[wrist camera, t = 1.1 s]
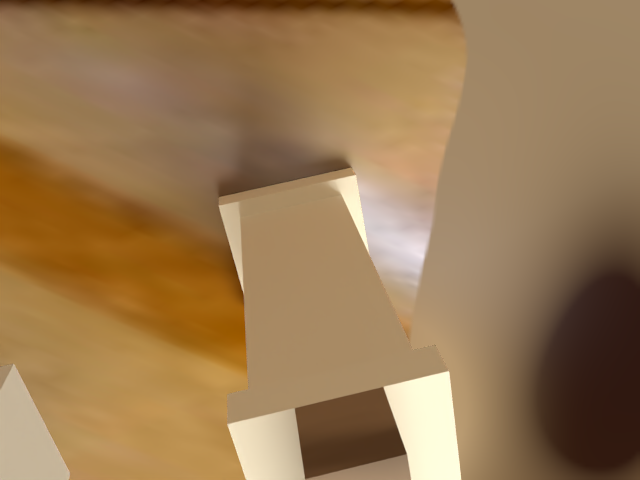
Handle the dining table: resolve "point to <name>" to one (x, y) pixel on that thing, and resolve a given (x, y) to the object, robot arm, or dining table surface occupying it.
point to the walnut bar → (352, 439)
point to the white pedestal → (324, 329)
